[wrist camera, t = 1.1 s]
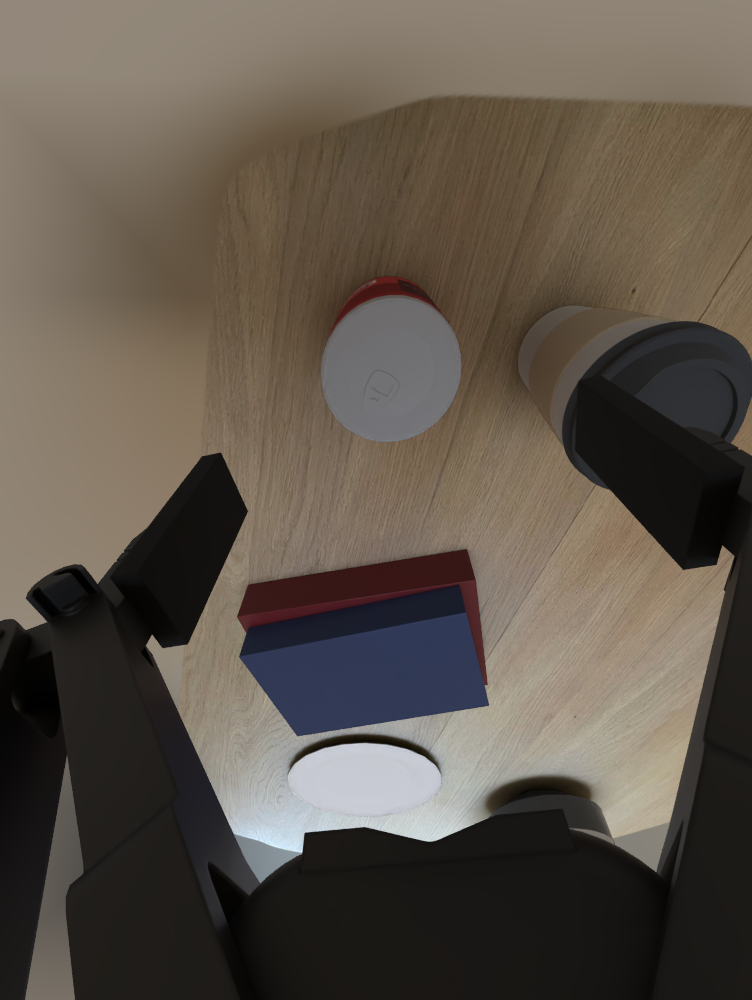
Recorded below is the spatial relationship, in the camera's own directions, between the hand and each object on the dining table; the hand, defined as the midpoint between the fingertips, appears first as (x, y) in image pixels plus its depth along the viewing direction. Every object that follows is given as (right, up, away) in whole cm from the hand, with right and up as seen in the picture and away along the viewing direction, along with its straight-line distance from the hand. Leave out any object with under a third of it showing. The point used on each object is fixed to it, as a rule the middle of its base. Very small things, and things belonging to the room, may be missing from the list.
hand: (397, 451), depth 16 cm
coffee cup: (+14, +10, +17) cm, 24 cm away
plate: (-3, -47, +54) cm, 72 cm away
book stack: (-1, -16, +34) cm, 37 cm away
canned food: (0, +11, +16) cm, 20 cm away
